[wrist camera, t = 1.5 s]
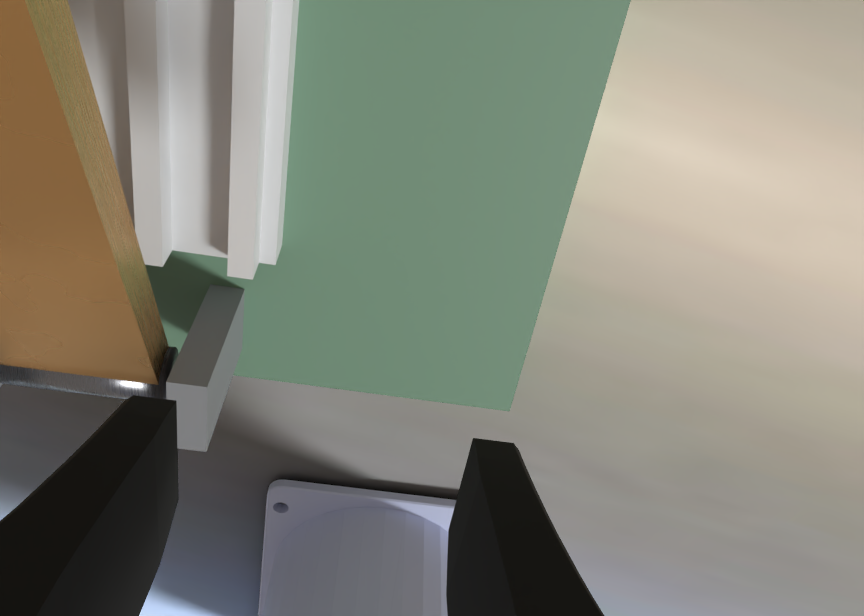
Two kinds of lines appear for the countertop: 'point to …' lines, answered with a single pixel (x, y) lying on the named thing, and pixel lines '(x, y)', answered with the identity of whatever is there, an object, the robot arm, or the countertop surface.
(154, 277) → the board
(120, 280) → the orange brown flat bar
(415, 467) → the countertop surface
